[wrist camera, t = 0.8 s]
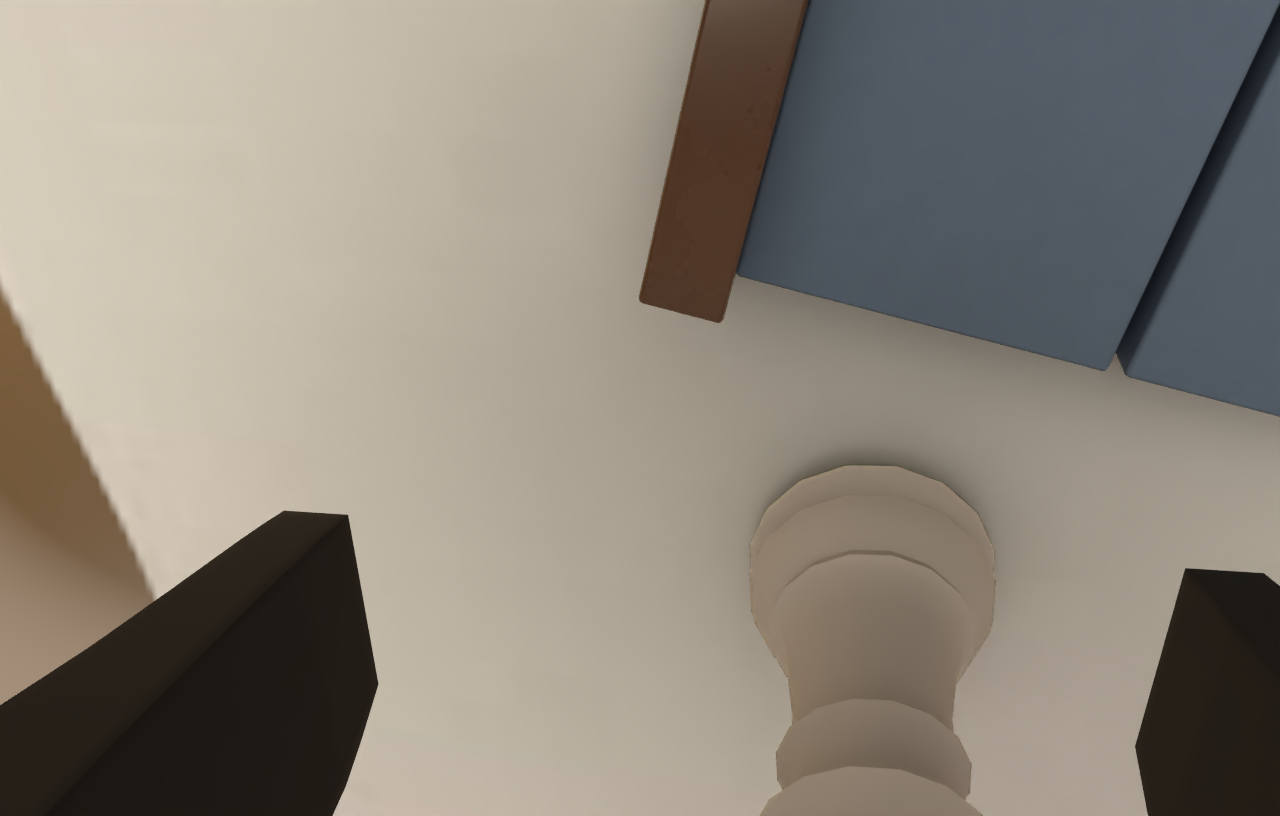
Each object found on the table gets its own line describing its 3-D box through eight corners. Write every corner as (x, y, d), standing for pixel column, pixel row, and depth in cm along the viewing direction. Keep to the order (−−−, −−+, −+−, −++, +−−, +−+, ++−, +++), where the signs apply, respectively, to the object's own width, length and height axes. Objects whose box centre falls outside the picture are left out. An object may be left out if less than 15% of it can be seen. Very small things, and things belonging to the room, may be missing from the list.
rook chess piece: (734, 620, 23) (679, 985, 16) (771, 429, 20) (726, 755, 14) (959, 665, 22) (1004, 1060, 15) (1022, 474, 20) (1106, 835, 13)
